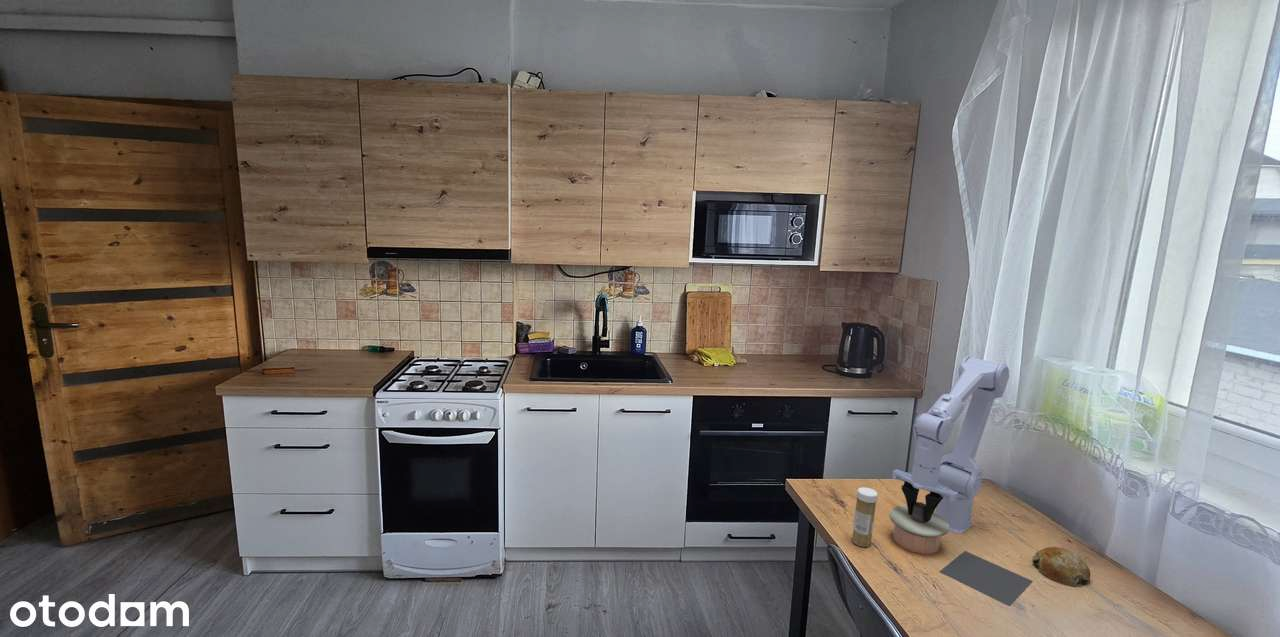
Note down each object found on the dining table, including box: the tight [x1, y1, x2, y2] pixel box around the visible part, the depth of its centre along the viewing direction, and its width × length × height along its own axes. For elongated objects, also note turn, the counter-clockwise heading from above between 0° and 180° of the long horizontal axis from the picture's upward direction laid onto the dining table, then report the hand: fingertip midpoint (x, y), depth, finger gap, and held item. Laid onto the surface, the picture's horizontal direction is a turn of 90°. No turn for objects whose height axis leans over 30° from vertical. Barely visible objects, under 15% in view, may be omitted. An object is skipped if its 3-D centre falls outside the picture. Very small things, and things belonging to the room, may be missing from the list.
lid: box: [888, 501, 950, 537], centre depth 137 cm, size 13×13×4 cm
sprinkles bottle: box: [851, 487, 879, 548], centre depth 137 cm, size 5×5×13 cm
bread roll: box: [1031, 546, 1091, 588], centre depth 128 cm, size 10×10×8 cm
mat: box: [938, 550, 1034, 607], centre depth 126 cm, size 14×14×1 cm
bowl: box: [892, 523, 942, 555], centre depth 138 cm, size 10×10×4 cm
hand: (919, 516), depth 138 cm, fingers closed on lid, 3 cm apart
